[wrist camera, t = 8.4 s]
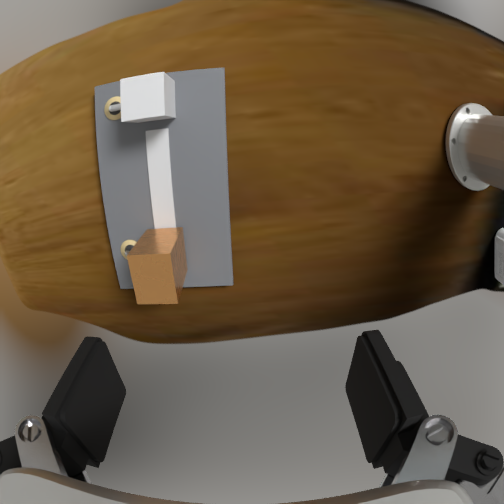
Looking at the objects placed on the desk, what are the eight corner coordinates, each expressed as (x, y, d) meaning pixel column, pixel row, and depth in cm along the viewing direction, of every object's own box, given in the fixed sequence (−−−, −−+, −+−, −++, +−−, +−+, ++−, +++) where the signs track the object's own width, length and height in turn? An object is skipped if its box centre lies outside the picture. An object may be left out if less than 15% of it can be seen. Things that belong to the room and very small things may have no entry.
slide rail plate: (224, 70, 26) (222, 55, 20) (233, 279, 36) (233, 309, 30) (100, 88, 26) (72, 81, 20) (124, 282, 35) (107, 311, 29)
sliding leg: (182, 227, 31) (170, 253, 24) (187, 269, 33) (178, 303, 26) (122, 231, 30) (97, 256, 24) (129, 271, 32) (109, 304, 26)
